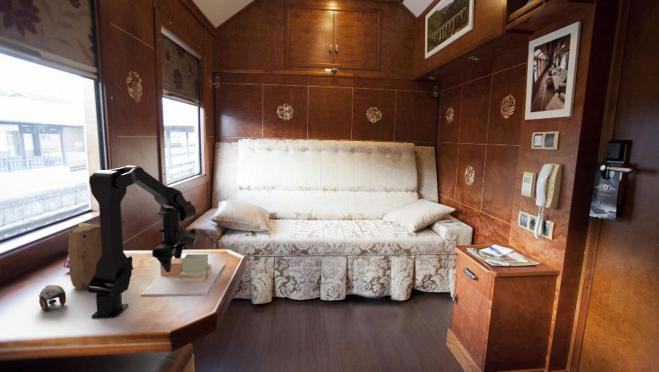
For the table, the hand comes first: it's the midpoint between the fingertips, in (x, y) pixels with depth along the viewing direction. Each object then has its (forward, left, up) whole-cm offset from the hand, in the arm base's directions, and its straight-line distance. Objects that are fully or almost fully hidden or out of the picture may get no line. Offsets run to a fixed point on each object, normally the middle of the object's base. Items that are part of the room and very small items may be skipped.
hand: (173, 266), depth 115 cm
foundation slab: (-4, -9, -2) cm, 10 cm away
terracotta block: (0, 0, -2) cm, 2 cm away
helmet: (-22, +25, -3) cm, 33 cm away
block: (-7, +23, -3) cm, 24 cm away
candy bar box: (+2, +33, -2) cm, 33 cm away
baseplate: (-4, -6, -3) cm, 8 cm away
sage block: (-4, -9, +1) cm, 10 cm away
